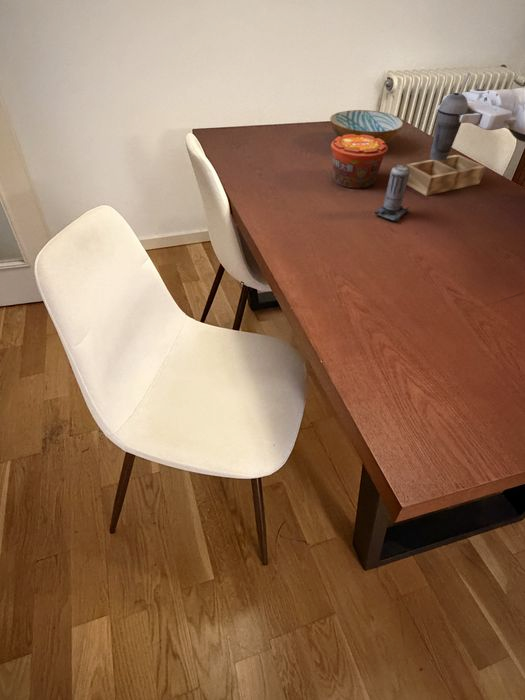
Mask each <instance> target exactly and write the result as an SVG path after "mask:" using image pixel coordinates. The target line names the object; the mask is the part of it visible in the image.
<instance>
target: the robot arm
mask: <svg viewBox="0 0 525 700" xmlns="http://www.w3.org/2000/svg"><path fill="white" fill-rule="evenodd" d="M450 94H451V93H449V94H448V93H447V94H445V95H444V96H443V98H442V100H441V102H442V101H443V100H444V99H445V98H446V97H447V96H448V95H450ZM462 94H463V95H464V96H465V97H466V99H467V102H468V109H467V114H465V113H463V114H459V116H458V119H457V121H458V122H460V123H461V124H472V125H474V126H476V127H478V128H479V129H483V130H486V131H496V130H500V129H504V128H507V127H508V130H509V133H511V135H512V136H513V137H514V138H515V139H516V140H518V141H520V142H524V143H525V87H516V88H512V89H510V88H502V89H482V88H471V89H470V90H469V91H463V92H462ZM439 106H440V104H439V105H438V106H437V109H436V113H438V109H439Z"/></svg>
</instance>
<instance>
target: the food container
mask: <svg viewBox="0 0 525 700" xmlns="http://www.w3.org/2000/svg"><path fill="white" fill-rule="evenodd" d="M388 148H389V147H388V145H387V143H386V144H385V142H384V141H383V140H381V139H379V138H377V139H375V138H374V137H373V136H369V135H355V134H348V135H343V136H342V137H340V136H339V137H338V136H337V137H336V138H334V139H333V141H331V143H330V149H331V150H332V176H331V178H332V179H331V180H332V181H333V183H335V184H336V185H338V186H340V187H342V188H343V187H344V188H347V189H353V190H356V189H357V190H360V189H368V188H370V187H372V186H374V185H375V183H376V181H377V178H378V174H379V171H380V169H381V166H382V162H383V159H384V156H385V154H386V153H387V152H388V150H389V149H388Z"/></svg>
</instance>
